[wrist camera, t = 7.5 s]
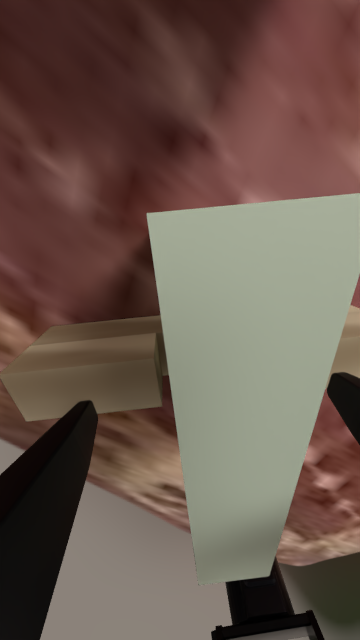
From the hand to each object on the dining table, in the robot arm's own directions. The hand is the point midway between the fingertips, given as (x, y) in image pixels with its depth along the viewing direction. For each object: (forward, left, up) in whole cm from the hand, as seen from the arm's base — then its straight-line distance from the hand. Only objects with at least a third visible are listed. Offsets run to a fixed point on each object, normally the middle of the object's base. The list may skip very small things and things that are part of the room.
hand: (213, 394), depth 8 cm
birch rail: (0, 0, -5) cm, 5 cm away
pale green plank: (0, 0, -5) cm, 5 cm away
